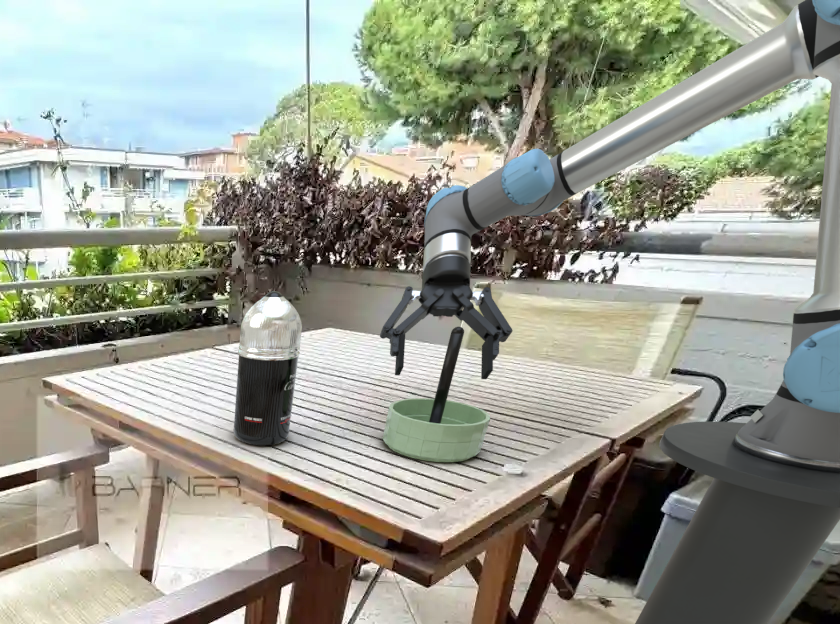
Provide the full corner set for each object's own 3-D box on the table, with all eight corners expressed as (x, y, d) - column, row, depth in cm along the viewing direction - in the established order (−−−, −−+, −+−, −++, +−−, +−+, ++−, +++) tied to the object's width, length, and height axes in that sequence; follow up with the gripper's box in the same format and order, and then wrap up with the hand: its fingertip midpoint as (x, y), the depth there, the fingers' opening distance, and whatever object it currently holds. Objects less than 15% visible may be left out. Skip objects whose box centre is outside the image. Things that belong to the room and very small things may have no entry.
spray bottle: (223, 441, 99) (232, 293, 87) (244, 425, 107) (255, 286, 94) (278, 452, 94) (295, 296, 82) (296, 434, 102) (315, 289, 90)
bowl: (491, 446, 95) (502, 410, 92) (460, 471, 86) (471, 432, 82) (403, 427, 104) (410, 393, 101) (366, 448, 95) (374, 411, 92)
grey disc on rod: (450, 442, 95) (481, 326, 85) (439, 450, 92) (470, 330, 82) (420, 435, 98) (448, 323, 88) (409, 442, 95) (436, 327, 85)
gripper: (515, 284, 98) (515, 388, 93) (368, 283, 104) (360, 381, 99) (535, 252, 91) (536, 363, 86) (376, 253, 97) (368, 357, 92)
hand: (442, 373), depth 92 cm, fingers open, 13 cm apart
